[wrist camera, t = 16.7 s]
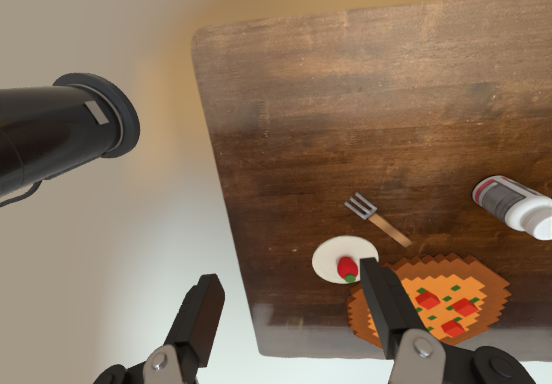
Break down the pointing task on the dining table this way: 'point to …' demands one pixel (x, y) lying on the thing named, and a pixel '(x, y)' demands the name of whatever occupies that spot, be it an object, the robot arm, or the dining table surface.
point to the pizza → (439, 297)
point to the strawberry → (347, 269)
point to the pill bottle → (516, 205)
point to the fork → (378, 220)
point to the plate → (341, 255)
